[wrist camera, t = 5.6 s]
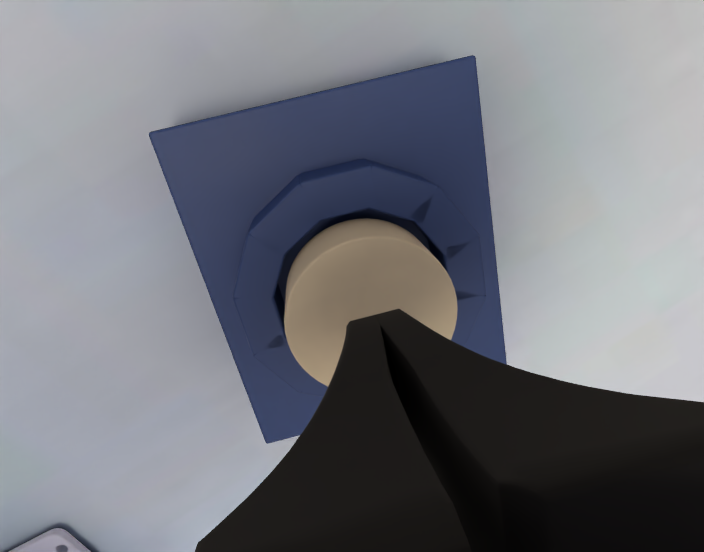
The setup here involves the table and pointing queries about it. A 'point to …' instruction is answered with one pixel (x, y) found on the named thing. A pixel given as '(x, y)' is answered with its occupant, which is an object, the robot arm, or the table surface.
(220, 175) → the button base
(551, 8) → the table surface
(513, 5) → the table surface
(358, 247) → the disc
